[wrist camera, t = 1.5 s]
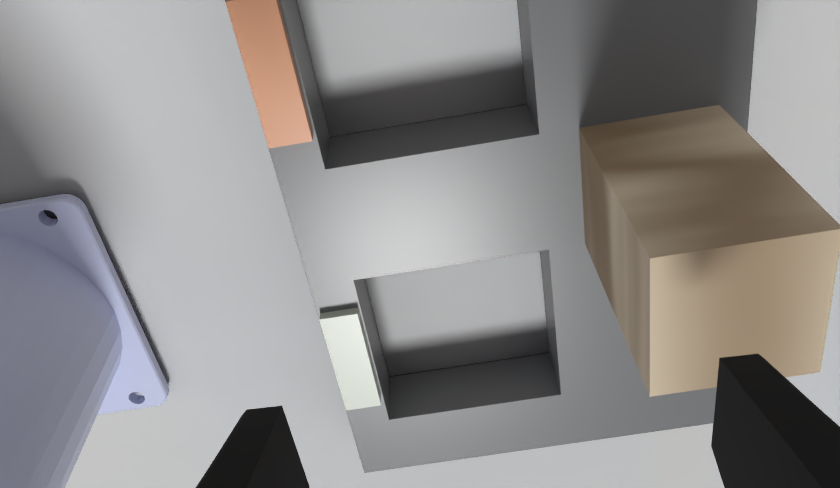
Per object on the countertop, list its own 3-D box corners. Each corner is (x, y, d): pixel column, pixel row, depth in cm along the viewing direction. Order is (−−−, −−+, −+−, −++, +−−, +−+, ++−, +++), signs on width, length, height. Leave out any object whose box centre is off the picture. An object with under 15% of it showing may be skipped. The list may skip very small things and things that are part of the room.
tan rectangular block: (585, 244, 21) (649, 396, 16) (578, 128, 19) (649, 258, 14) (712, 223, 21) (819, 372, 16) (719, 104, 19) (843, 228, 14)
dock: (366, 428, 27) (364, 480, 25) (183, -219, 16) (157, -218, 14) (703, 379, 26) (728, 427, 24) (740, -327, 16) (790, -340, 14)
